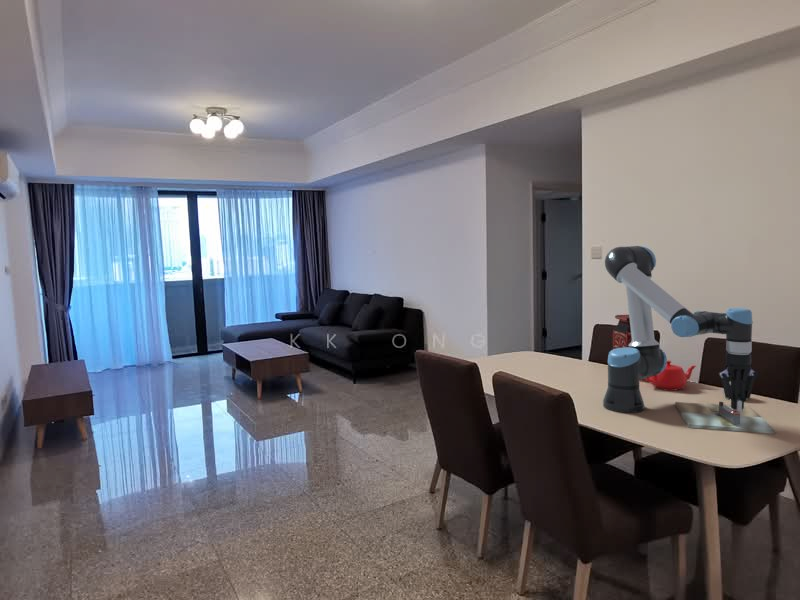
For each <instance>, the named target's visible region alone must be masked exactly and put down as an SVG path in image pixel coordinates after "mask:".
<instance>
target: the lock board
mask: <svg viewBox="0 0 800 600" xmlns="http://www.w3.org/2000/svg"><path fill="white" fill-rule="evenodd" d="M719 405H724V402H723V401H718V404H715V403H713V404H712V403H701V402H700V403H698V402H697V403H696V402H682V401H681V402H680V401H675V407H676V409H677V410H678V411H679V413H680V416H681V417H682V418H683V420H684V422H685V424H686V426H687V427H688V428H692V429H693V428H694V429H707V430H720V431H734V432H744V433H745V432H748V433H759V434H760V433H762V434H776V429H775V428H774V427H773V426H771V424H769V423H768V422H767V421H766V420H765V419H764V418H763V417H762V416H761V415H760V414H759V413H758V412H757V411H756V410H755V409H754V408H753V407H751V406H749V405H748V406H747V405H746V406H745V405H744V408H743V409H742V419H740V424H732V423H731V422H729V421H728V420H727V419H725V418H724V417H722V416H721V415H720V414H719ZM725 405H726V406H728V407H729V408H731V404H730V405H729V404H725ZM731 409H732V408H731ZM732 410H733V409H732Z"/></svg>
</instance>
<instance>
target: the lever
mask: <svg viewBox="0 0 800 600" xmlns="http://www.w3.org/2000/svg"><path fill="white" fill-rule="evenodd" d="M718 405H719V404H718ZM726 405H727V404H723V405H719V414H720V415H721V416H722V417H724V418H725V419H727V420H728V421H729V422H731V423H732V424H740V412H739V411H734V410H732V409H731V408H729V407H728V406H726Z"/></svg>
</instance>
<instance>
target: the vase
mask: <svg viewBox="0 0 800 600" xmlns="http://www.w3.org/2000/svg"><path fill="white" fill-rule="evenodd" d="M614 318H615V319H616V320H619V321H618V323H617V324H616V326H614V328H612V350H613V349H616V348H624V347H629V344H630V343H631V341H632V337H631V328H630V318H629V314H616V315H615V316H614Z"/></svg>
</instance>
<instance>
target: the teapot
mask: <svg viewBox="0 0 800 600" xmlns="http://www.w3.org/2000/svg"><path fill="white" fill-rule="evenodd" d="M671 363H672V360H667V365H666V367H665V369H664V370H663V371H662V372H661V373H660V374H657V375H655V376H652V377H645V378H644V380H646V381H647V382H649V383H650V384H651V385H652V386H653V387H655V388H656V389H659V388H660V390H664V389H666V390H667V391H677V390H676V389H679V390H681V389H683V388H685V387H686V386H687V384H688V380H690V378H691V376H692V373H693V370H694V369H695V368H696V367H697V365H690V366H689V367H688V369H687V371H686V372H685V371H684V369H683V367H682V366H680V365H676V364H671ZM666 390H665V391H666Z"/></svg>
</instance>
